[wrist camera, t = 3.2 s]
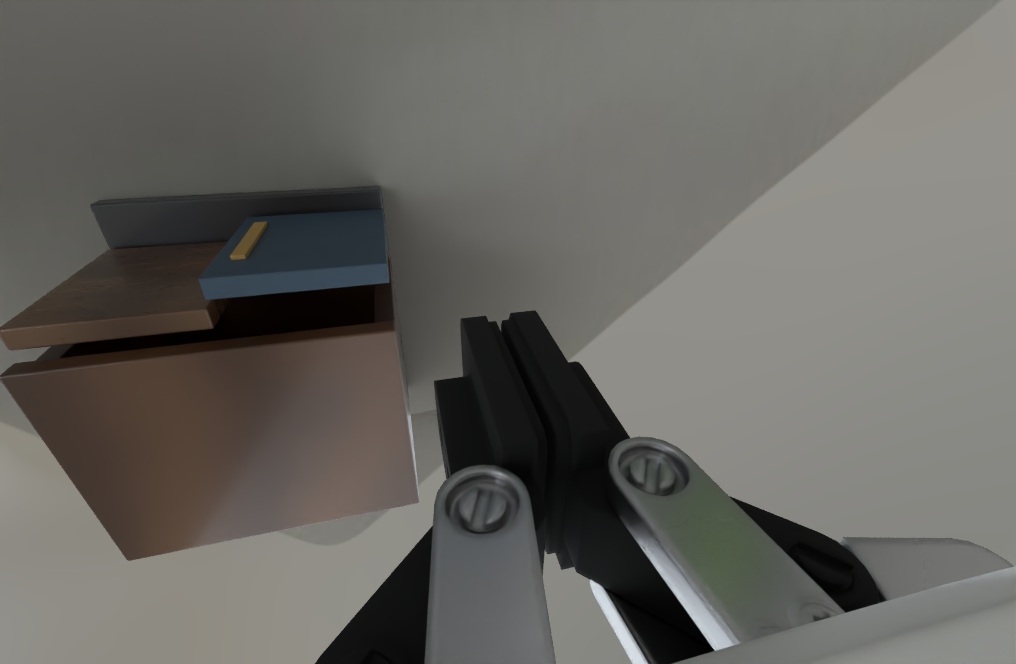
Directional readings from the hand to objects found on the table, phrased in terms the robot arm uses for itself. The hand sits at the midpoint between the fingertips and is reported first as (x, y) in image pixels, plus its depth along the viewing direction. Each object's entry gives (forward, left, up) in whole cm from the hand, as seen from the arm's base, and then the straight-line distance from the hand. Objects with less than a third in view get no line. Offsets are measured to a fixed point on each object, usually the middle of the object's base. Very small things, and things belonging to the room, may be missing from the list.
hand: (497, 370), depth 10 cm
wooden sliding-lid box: (-8, -5, -16) cm, 18 cm away
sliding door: (-5, 0, -14) cm, 15 cm away
